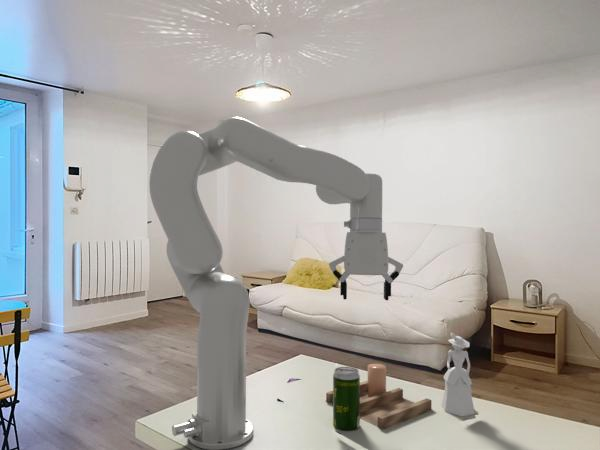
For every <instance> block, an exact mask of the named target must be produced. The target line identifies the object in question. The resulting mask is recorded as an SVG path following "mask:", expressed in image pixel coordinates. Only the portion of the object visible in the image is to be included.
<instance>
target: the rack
mask: <svg viewBox="0 0 600 450" xmlns="http://www.w3.org/2000/svg"><path fill="white" fill-rule="evenodd" d="M325 395H326V398H325V402H326V403H328V404H330V405H332V406H333V390H330V391H328V392H326V393H325ZM432 411H433V409H432V400H431V399H430V398H425V399H421V400H419V401H416V402H414V401H412V400H409V399H407V398H404V389H403V388H400V387H398V388H395V389H391V390H388V391H387V390H386V392H385V393H382V394H379V395H376V396H373V397H368V380H364V381H362V382H360V419H361V420H363V421H365V422H367V423H369V424H371V425H373V426H374V427H377V428H379V429H382V430H383V431H384V430H387V429H389V428H392V427H394V426H396V425H398V424H401V423H405V422H407V421H409V420H412V419H414V418H417V417H419V416H421V415H424V414H427V413H429V412H432Z"/></svg>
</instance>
